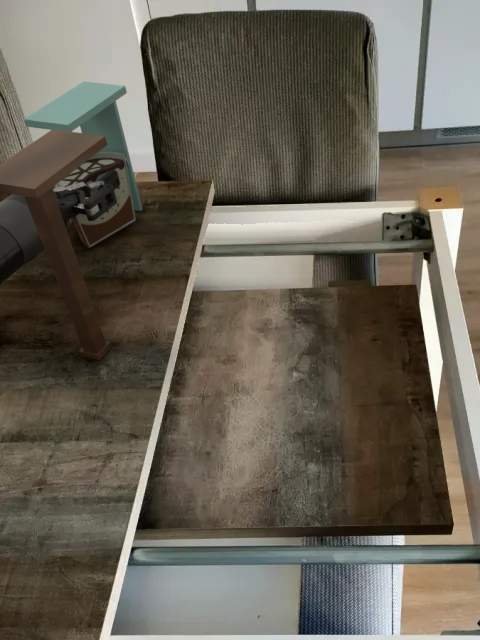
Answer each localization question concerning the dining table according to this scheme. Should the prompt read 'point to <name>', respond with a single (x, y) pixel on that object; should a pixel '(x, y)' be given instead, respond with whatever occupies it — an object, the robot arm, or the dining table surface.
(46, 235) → the side stand
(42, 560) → the dining table surface
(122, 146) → the teal plank stand
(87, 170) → the food container
